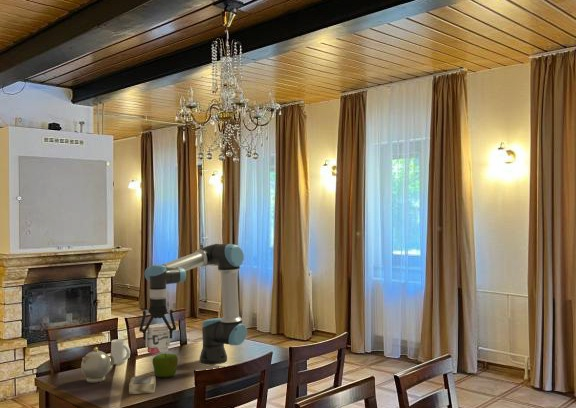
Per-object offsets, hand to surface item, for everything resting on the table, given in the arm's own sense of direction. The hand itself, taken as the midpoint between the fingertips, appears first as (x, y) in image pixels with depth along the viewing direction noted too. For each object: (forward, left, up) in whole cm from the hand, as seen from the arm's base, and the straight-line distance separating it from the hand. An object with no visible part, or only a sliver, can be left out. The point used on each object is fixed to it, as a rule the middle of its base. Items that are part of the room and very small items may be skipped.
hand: (157, 346), depth 268 cm
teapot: (+29, -19, -19) cm, 40 cm away
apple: (-3, -19, -19) cm, 27 cm away
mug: (+22, -52, -19) cm, 59 cm away
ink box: (0, 0, -3) cm, 3 cm away
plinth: (+7, +1, -19) cm, 20 cm away
